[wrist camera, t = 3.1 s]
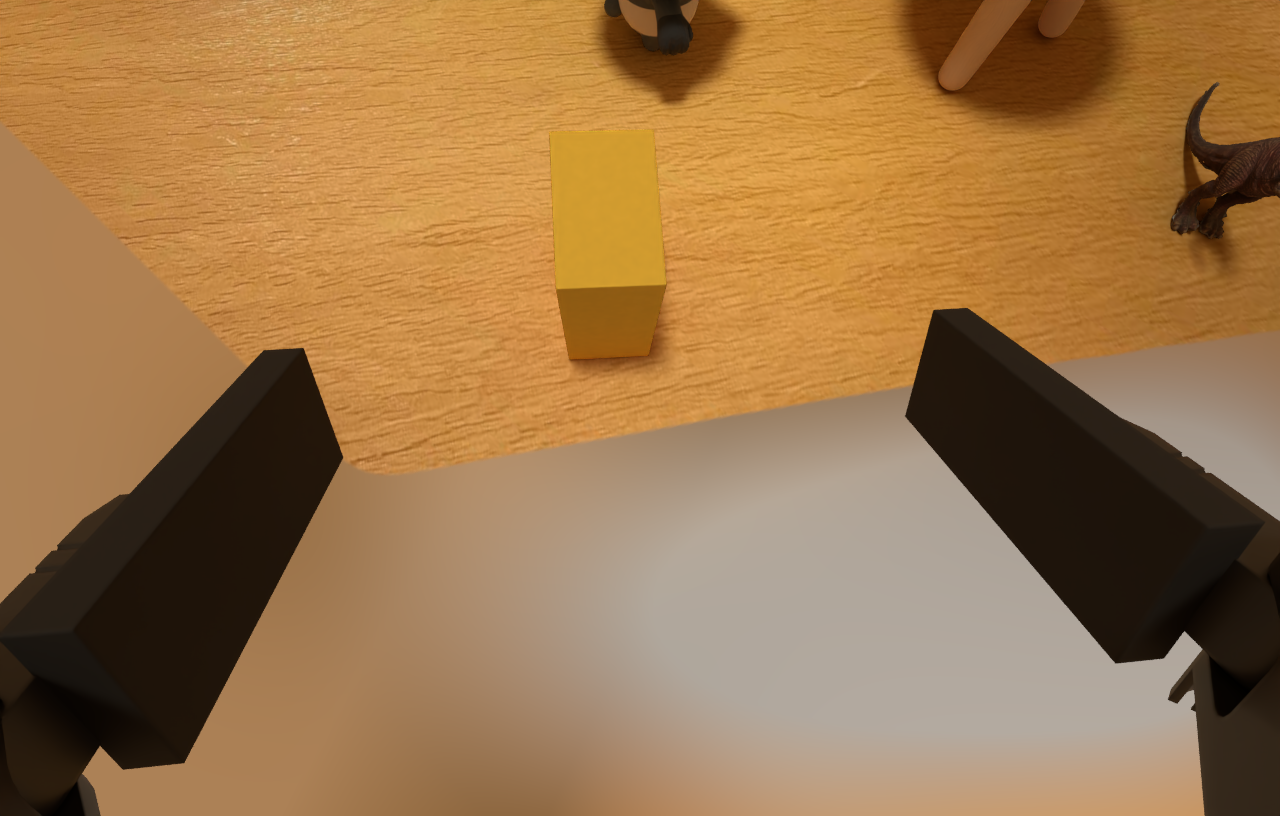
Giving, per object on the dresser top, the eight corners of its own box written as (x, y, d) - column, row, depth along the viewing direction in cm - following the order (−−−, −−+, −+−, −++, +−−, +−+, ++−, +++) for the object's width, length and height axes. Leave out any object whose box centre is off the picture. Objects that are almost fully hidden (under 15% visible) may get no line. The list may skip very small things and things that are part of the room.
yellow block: (569, 359, 37) (555, 289, 27) (563, 242, 39) (548, 130, 28) (648, 355, 38) (666, 284, 27) (640, 239, 39) (653, 128, 29)
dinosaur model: (1399, 160, 30) (1346, -61, 34) (1170, 272, 41) (1151, 96, 45) (1470, 177, 30) (1409, -45, 34) (1223, 283, 41) (1199, 107, 45)
